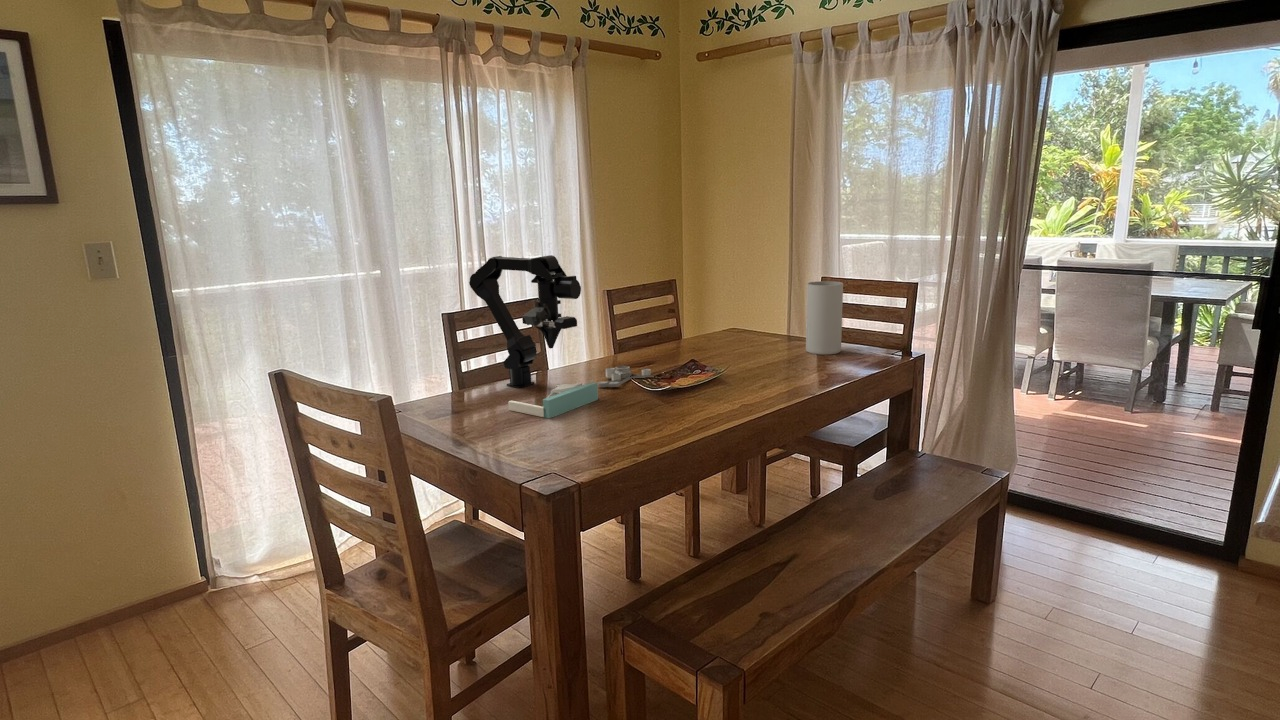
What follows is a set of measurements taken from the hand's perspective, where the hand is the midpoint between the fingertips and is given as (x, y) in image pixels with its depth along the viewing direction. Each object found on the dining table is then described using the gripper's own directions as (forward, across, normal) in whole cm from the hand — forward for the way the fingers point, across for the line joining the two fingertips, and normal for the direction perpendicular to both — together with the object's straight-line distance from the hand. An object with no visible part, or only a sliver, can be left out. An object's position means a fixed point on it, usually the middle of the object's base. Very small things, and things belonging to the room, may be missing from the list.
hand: (550, 348), depth 218 cm
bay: (+13, +13, -12) cm, 22 cm away
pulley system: (+14, +13, +22) cm, 29 cm away
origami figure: (+13, +14, -9) cm, 21 cm away
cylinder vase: (+13, +47, +91) cm, 103 cm away
